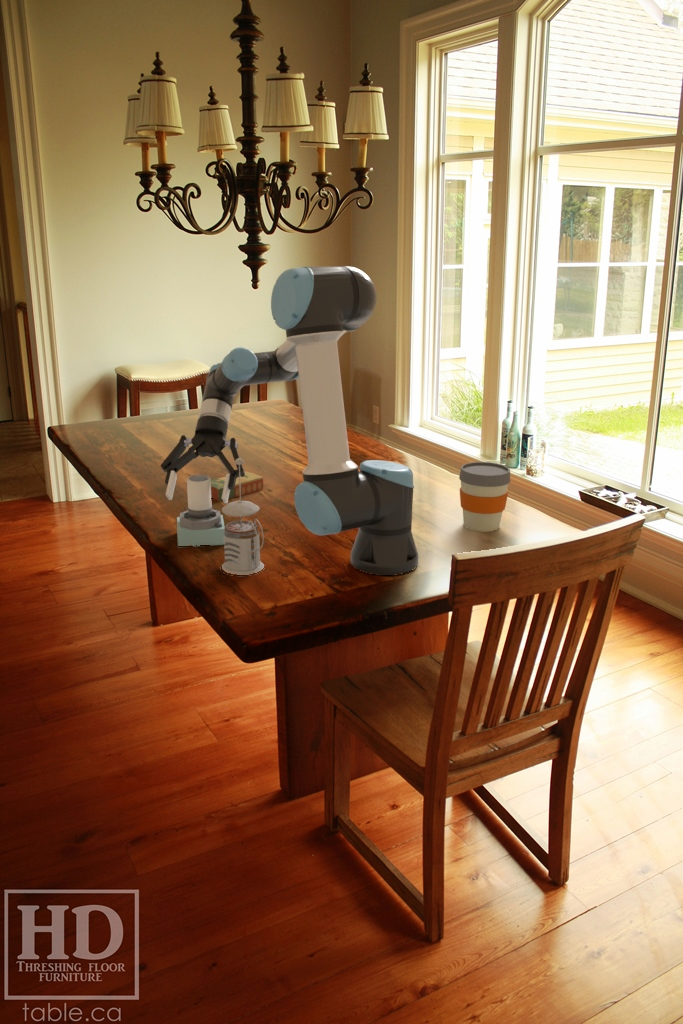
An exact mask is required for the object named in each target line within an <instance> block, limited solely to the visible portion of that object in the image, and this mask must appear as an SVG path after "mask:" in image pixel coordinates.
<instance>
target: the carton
mask: <svg viewBox="0 0 683 1024" xmlns="http://www.w3.org/2000/svg"><path fill="white" fill-rule="evenodd" d="M244 472H245V476H244V477H241V476H240V483H241V496H244V495H248V494H252V493H255V492H259V491H263V490H264V477H263V476H261V475H258V474H255V473H253V472H250V471H245V470H244ZM225 479H226V475H225V476H221V477H218V478H213V479H211V498H213V499H215V500H214V501H216V500H217V502H223V501H222V493H223V489H224V484H225ZM237 497H240V486H239V477H237V479H236V483H235V488H234V490H230V493H229V498H228V500H230V499H233V498H237ZM213 499H212V500H213Z"/></svg>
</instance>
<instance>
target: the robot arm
mask: <svg viewBox="0 0 683 1024" xmlns="http://www.w3.org/2000/svg"><path fill="white" fill-rule="evenodd" d="M275 280H276V281H275V283H274V284H273V288H272V292H271V297H270V309H271V316H272V318H273V321H274V323H275V324H276V326H277V327H279V328H280V329H282V330H284V331H285V336H286V340H285V341H284V342H282V344H280V345H279V346H278V347H277V348H276V349H275V350H273V351H264V352H263V351H261V352H253V351H252V350H251V349H249V348H245V347H241V346H240V347H239V346H238V347H235V348H233V349H232V350H230V352H229V353H228V354H226V355H225V356H224V357H223V359H222V361H221V362H219V363H216V364H213V365H212V366H211V367H210V368H209V371H208V374H207V375H206V381H205V382H206V383H205V386H204V391H203V395H202V402H201V405H200V409H199V413H198V419H197V422H196V426H195V430H194V436H193V437H187V436H186V435H184V434H183V435H181V436H180V438H179V441H178V443H177V445H175V447H174V448H173V449H172V450H171V451H170V453H168V455H167V456H166V458H165V459H164V460H163V461H162V463H161V464H160V468H161V469H162V471H163V473H166V476H165V479H164V482H165V485H166V486H167V487H166V490H165V494H164V495H165V497H166V498H167V500H168V501H173V497H174V493H175V489H176V488H175V487H176V482H177V479H178V475H177V473H178V472H179V471H181V470H182V469H183V468H184V467H185V466H186V465H188V463H190V462H192V460H193V459H197V458H198V457H201V458H204V457H208V458H214V457H217V458H218V459H219V461H220V462H221V464H222V465H223V466H224V467H225V469H226V470H227V472H228V473H226V475H225V476H226V479H225V484H224V489H223V493H222V500H223V501H222V502H223V504H225V505H227V504H229V503H228V502H229V499H228V498H229V493H230V490H234V488H235V483H236V479H237V477H239V465H237V464H235V466H236V469H234V467H233V466H232V465H231V463H230V462H229V460H228V458H227V457H226V455H225V454H224V452H222V451H223V450H224V449H225V448H226V447H228V448H227V449H229V450H230V451H231V454H232V457H233V461H235V460H236V459H237V458H240V455H239V453H238V442H237V441H236V438H235V437H231V438H230V439H226V438H227V433H228V429H229V423H230V419H231V415H232V409H233V404H234V401H235V396H236V395H237V394H238V393H239V392H240V390H241V389H242V388H243V387H245V386H252V385H260V384H269V383H280V382H292V381H294V380H298V383H299V389H300V390H299V392H300V399H301V405H302V406H301V407H302V409H301V410H302V416H303V424H304V432H305V433H304V434H305V443H306V449H307V450H306V451H307V460H308V464H307V465H306V467H305V468H304V469H303V471H302V480H303V481H302V482H300V483H299V484H298V485H297V486H296V487H295V489H294V490H295V492H294V494H293V500H294V507H295V510H296V513H297V516H298V518H299V520H300V522H301V523H302V524H303V525H304V527H305V528H306V529H307V530H308V531H309V532H311V534H314V535H317V536H328V535H338V534H339V533H342V532H345V531H346V532H347V531H350V530H355V529H358V531H357V534H356V536H355V539H354V543H353V546H352V548H351V551H350V564H352V565H353V566H354V567H355V568H357V569H359V570H361V571H364V572H367V573H372V574H377V575H376V576H380V575H393V576H396V575H395V574H401V573H405V572H408V571H411V570H412V569H414V568H415V567H416V566H417V565H419V553H418V549H417V546H416V543H415V539H414V535H413V533H412V527H413V526H412V523H413V501H414V500H413V499H414V489H415V486H414V473H413V471H412V469H411V468H410V467H408V466H407V465H404V464H402V463H399V462H395V461H388V460H383V459H382V460H380V459H379V460H378V459H375V460H374V459H370V460H368V459H367V460H363V461H362V462H361V463H359V464H360V465H359V466H358V465H357V464H356V463H355V462H354V461H353V460H352V459H351V458H350V450H349V439H348V431H347V429H348V428H347V422H346V421H347V420H346V413H345V405H344V393H343V386H342V383H343V382H342V376H341V375H342V374H341V368H340V367H341V365H340V357H339V349H338V341H339V339H340V338H341V337H342V336H343V335H344V334H346V333H347V332H354V331H356V330H358V329H360V328H361V326H363V325H364V324H365V323H367V321H368V320H369V319H370V318H371V317H372V315H373V314H374V312H375V309H376V307H377V300H378V298H377V297H378V296H377V289H376V287H375V284H374V282H373V281H372V279H371V278H370V276H369V275H367V273H365V272H364V271H363V270H361V269H359V268H357V267H355V266H349V265H341V266H340V265H339V266H300V267H293V268H288V269H286V270H284V271H283V272H281V274H279V276H278V277H277V279H275ZM190 445H192V446H190ZM189 446H190V447H189ZM187 448H188V450H187V451H186V449H187ZM185 451H186V452H185ZM244 471H245V470H244V467H243V464H241V465H240V476H241V477H244V476H245V472H244ZM352 565H351V566H352ZM353 566H352V567H353ZM354 567H353V568H354ZM417 567H418V566H417ZM417 567H416V568H417ZM355 568H354V569H355ZM416 568H415V569H416ZM357 569H356V570H357ZM415 569H414V570H415ZM359 570H358V571H359ZM361 571H360V572H361ZM364 572H363V573H364ZM411 572H412V571H411ZM367 573H366V574H367ZM408 573H409V572H408ZM372 574H371V575H372ZM405 574H406V573H405ZM401 575H402V574H401Z"/></svg>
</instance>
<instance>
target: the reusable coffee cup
mask: <svg viewBox="0 0 683 1024" xmlns="http://www.w3.org/2000/svg"><path fill="white" fill-rule="evenodd" d="M459 480H460V488H459V498H460V499H459V500H460V507H461V508H462V517H463V518H462V519H463V526H464V527H465V528H466V529H468V530H470V531H475V532H483V533H484V532H485V533H488V532H493V531H494V530H495V531H497V530H498V528H499V529H500V526H501V522H502V517H503V512H504V511H505V509H506V505H507V500H508V496H509V491H508V488H509V485H510V483H511V469H510V468H509V466H507V465H504V464H501V463H497V462H490V461H474V462H473V461H472V462H467V463H465V464H463V465H460V472H459Z"/></svg>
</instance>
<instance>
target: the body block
mask: <svg viewBox="0 0 683 1024" xmlns="http://www.w3.org/2000/svg"><path fill="white" fill-rule="evenodd" d="M224 521H225V520H224V517H223V514H221V511H220V510H216V509H214V508H212V518H211V519H208V520H195V521H194V520H190V519H189V516H188V509H186V511H182V512H179V516H177V517H176V534H177V536H176V537H177V547H178V546H189V545H190V546H191V545H192V546H193V547H201V546H200V545H210V546H223V545H225V543H224V532H225V531H226V529H225V522H224ZM196 545H197V546H196Z"/></svg>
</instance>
